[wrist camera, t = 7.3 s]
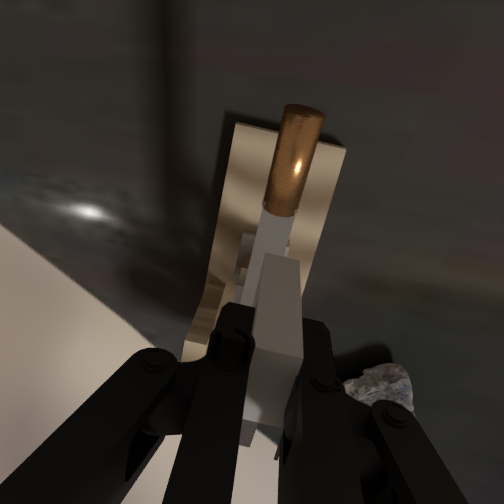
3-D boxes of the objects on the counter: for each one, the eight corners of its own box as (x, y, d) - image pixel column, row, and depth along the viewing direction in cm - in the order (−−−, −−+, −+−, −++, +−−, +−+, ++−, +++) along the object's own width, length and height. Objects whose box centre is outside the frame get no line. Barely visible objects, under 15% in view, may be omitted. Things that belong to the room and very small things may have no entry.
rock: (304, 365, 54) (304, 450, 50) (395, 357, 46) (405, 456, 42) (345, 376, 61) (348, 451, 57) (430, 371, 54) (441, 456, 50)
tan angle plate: (237, 121, 41) (215, 142, 29) (344, 146, 41) (365, 177, 30) (202, 305, 50) (174, 378, 38) (290, 326, 50) (290, 404, 38)
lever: (264, 86, 29) (250, 118, 23) (347, 105, 29) (356, 143, 23) (207, 373, 47) (190, 433, 41) (258, 385, 47) (249, 447, 41)
